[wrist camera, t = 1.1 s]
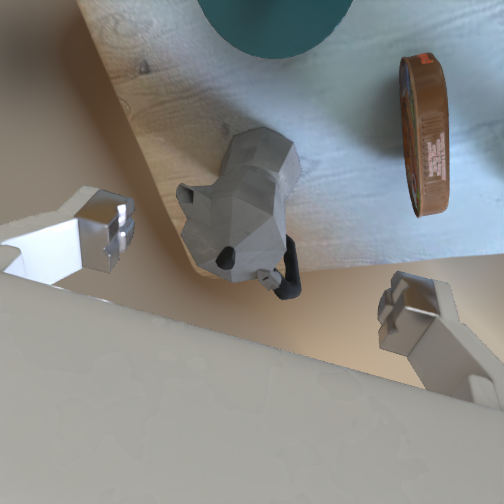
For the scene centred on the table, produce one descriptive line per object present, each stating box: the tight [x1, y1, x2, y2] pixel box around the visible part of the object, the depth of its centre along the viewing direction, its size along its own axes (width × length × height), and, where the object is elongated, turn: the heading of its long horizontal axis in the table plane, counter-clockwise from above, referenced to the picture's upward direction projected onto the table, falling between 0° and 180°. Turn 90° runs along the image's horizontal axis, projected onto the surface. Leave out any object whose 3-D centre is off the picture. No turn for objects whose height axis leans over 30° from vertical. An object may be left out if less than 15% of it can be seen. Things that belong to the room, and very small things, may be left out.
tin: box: [399, 52, 449, 218], centre depth 39 cm, size 15×3×8 cm, turn 16°
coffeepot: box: [176, 127, 303, 300], centre depth 42 cm, size 15×9×18 cm, turn 43°
